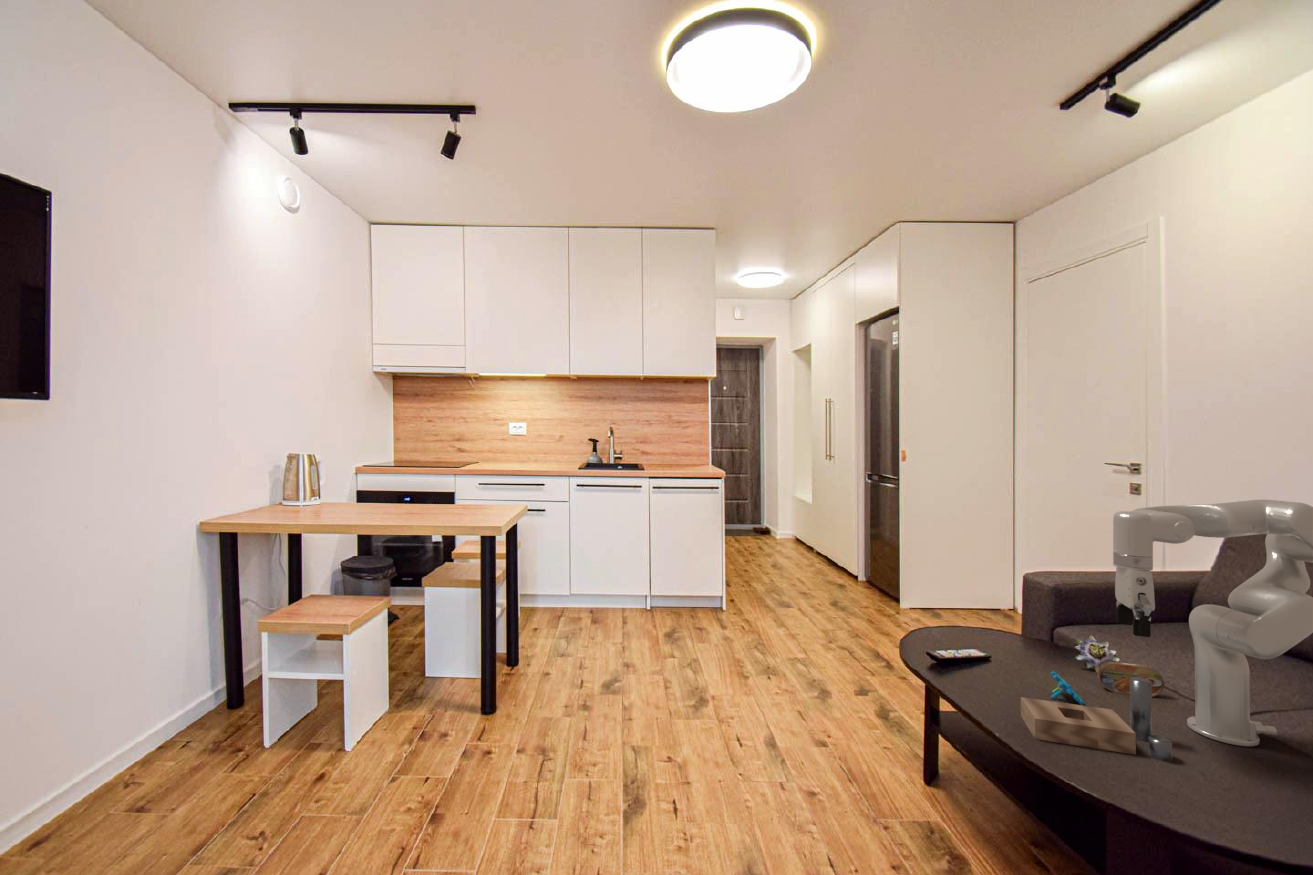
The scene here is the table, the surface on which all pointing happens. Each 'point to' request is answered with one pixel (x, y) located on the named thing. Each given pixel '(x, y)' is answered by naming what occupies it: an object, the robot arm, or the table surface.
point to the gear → (1064, 689)
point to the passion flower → (1095, 653)
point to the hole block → (1078, 725)
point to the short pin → (1160, 748)
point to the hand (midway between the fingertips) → (1132, 629)
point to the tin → (1128, 677)
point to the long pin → (1141, 707)
